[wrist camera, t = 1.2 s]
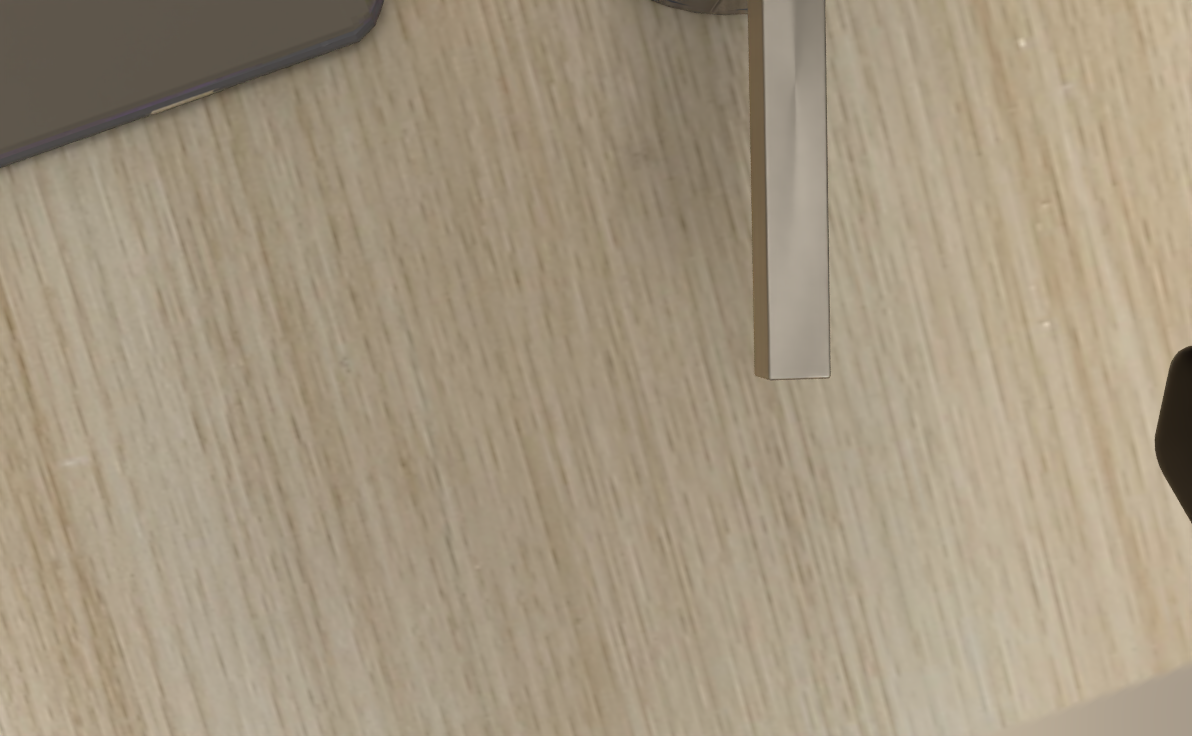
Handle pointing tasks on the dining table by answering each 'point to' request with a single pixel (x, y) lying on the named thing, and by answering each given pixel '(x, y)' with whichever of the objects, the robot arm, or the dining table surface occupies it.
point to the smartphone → (147, 58)
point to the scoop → (789, 188)
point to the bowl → (709, 6)
